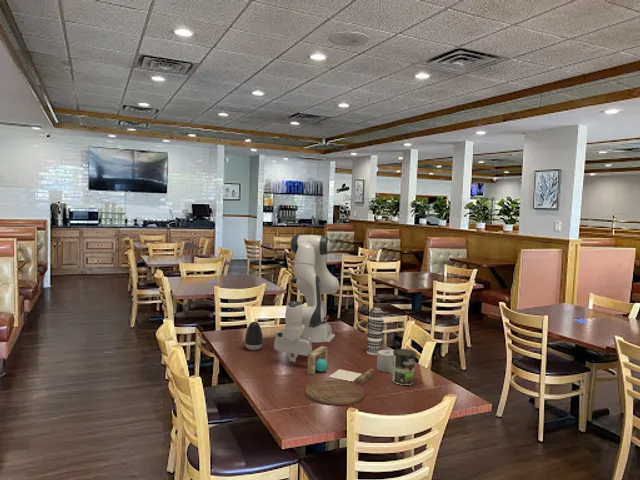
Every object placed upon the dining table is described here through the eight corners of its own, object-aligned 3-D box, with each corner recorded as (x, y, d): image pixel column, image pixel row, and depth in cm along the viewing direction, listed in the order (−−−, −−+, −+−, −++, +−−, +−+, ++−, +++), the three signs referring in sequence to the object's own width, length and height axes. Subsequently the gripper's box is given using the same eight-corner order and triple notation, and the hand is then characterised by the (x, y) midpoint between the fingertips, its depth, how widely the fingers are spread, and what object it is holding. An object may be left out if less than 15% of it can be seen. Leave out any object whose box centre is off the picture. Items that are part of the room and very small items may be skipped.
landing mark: (339, 369, 236) (339, 369, 236) (361, 374, 230) (362, 373, 230) (328, 376, 225) (328, 376, 225) (352, 381, 220) (352, 381, 219)
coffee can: (418, 384, 220) (420, 354, 219) (400, 387, 215) (402, 356, 214) (405, 376, 229) (406, 347, 228) (387, 379, 224) (388, 350, 224)
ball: (319, 370, 235) (315, 359, 236) (330, 368, 233) (326, 356, 234) (314, 374, 230) (311, 362, 230) (326, 371, 228) (322, 359, 228)
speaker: (240, 350, 261) (241, 322, 260) (250, 345, 271) (251, 318, 270) (256, 352, 257) (257, 325, 256) (266, 347, 267) (267, 321, 266)
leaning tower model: (364, 354, 262) (366, 309, 260) (367, 349, 271) (369, 305, 269) (381, 356, 260) (383, 310, 258) (383, 351, 269) (385, 307, 267)
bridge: (307, 373, 228) (308, 353, 227) (321, 364, 242) (322, 346, 241) (313, 374, 227) (313, 354, 226) (326, 366, 240) (327, 347, 240)
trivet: (373, 404, 196) (373, 399, 196) (314, 409, 189) (314, 404, 189) (352, 382, 220) (352, 378, 220) (299, 386, 213) (299, 381, 213)
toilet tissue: (401, 375, 231) (402, 357, 231) (374, 370, 236) (375, 353, 235) (404, 369, 240) (405, 352, 239) (378, 365, 244) (379, 348, 244)
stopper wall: (370, 373, 232) (370, 368, 231) (373, 374, 231) (374, 369, 231) (355, 385, 216) (356, 379, 215) (360, 386, 215) (360, 380, 214)
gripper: (314, 336, 238) (313, 363, 238) (279, 329, 247) (278, 356, 248) (308, 338, 232) (307, 366, 233) (272, 332, 241) (272, 359, 242)
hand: (292, 361), depth 240 cm, fingers closed
